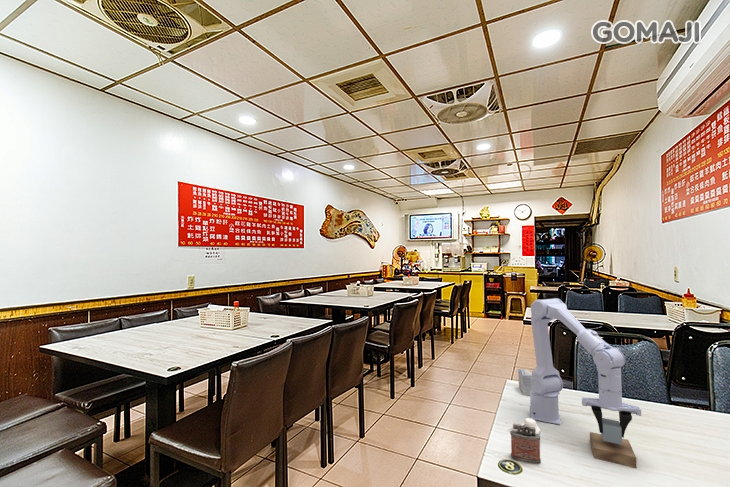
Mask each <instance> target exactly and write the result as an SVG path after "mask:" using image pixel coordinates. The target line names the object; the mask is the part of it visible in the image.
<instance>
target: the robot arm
mask: <svg viewBox="0 0 730 487" xmlns="http://www.w3.org/2000/svg"><path fill="white" fill-rule="evenodd" d="M567 307H568V306H567V304H566V303H564V302H563V301H562V299H560V298H558V297H557V298H556V297H553V298H547V299H535V300H534V301H532V303H531V304H530V313H531V316H530V323H531V331H532V337H533V339H532V341H533V347H534V354H535V361H536V367H534V369H533V370H532V371H531V374H532V379H531V386H532V388H533V390H534V391H530V395H529V396H530V397H529V399H530V400H529V401H530V402H529V404H530V405H529V412H530V418H531V419H533V420H535V421H541V422H545V423H550V424H555V425H561V416H560V413H559V412H560V411H559V395H560V392H561V391H562V390H563V387H564V382H563V379H562V377H561V376H560V371H559V370H557V368H555V367H554V363H553V354H552V347H551V340H550V332H549V325H548V324H549V323H550V322H551V321H552V320H553V319H554V320H559V322H561V323H562V324H563V325H564V326H565V327H567V328H568V329H569V330H570V331H571V332H573V334H575V335H576V336H577V338H576V340H577V342H578V343H579V344H580V345H581V346H582V347H583V348H584V349H585V350H586V351H587V352H588V353H589V354H590V355H591V356H592V360H593V362H594V364H595V366H596V371H597V374H598V375H597V376H598V380H597V381H598V398H597V397H596V398H594V397H593V398H591V397H581V405H582V407H590V409H591V411H592V413H593V415H594V417H595V419H596V422H597V425H598V431H599V434H601V433H603V427H602V418H603V411H602V409H604V410H608V411H613V412H618V415H619V420H618V421H619V423H620V425H621V428H622V439H625V433H626V430H627V428H628V425H629V424H630V423H631V421H633V416H632V414H633V415H636V416H640V417H642V408H641V407H640V406H636V405H632V404H629V403H625V402H623V395H622V388H623V387H622V367H623V366H625V364H626V356H625V355H624V353H623V352H622V351H621V349H620V348H617V347H615V346H611V345H610V344H609V343H608V342H606V341H605V340H604V339H602V338H601V337H600V335H599V333H598V332H597V331H595V330H593V329H590V328H586V327H584V326H583V324H582V323H581V322H580V321H579V320H578V319H577V318H576V317H575V316H574V315H573V314H572V313H571V311H570V310H568V308H567Z"/></svg>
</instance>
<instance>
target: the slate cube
mask: <svg viewBox="0 0 730 487" xmlns="http://www.w3.org/2000/svg"><path fill="white" fill-rule="evenodd" d="M602 427H603V433H600V434H601V435H602V438H603V441H607V442H611V443H616V444H621V445H622V439H623V437H622V428H621V425H620V420H616V419H611V418H605V417H602Z"/></svg>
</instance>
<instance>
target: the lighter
mask: <svg viewBox="0 0 730 487" xmlns="http://www.w3.org/2000/svg"><path fill="white" fill-rule="evenodd" d="M521 430H522V431H521ZM509 432H510V433H509V434H510V447H511V450H510V452H511V453H510V458H511V459H512V460H514V461H517V462H521V463H525V464H532V465H540V464H541V462H542V460H541V446H540V445H541V442H540V441H541V434H540V435H539V434H536V433H535V432H536V428H535V427H530V426H528V425H527V424H524V425H521V423H520V424H518V423H513V424H512V429H511V430H510V431H509Z"/></svg>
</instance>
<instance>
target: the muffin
mask: <svg viewBox="0 0 730 487" xmlns="http://www.w3.org/2000/svg"><path fill="white" fill-rule="evenodd" d="M536 421H537V420H534V419H531V417H530V418H529V417H528V418H525V419H524V420H523V422H522V423H520V425H524V424H527V425H528V426H530V427H535V428H536V432H535V433H536V434H539V435H540V436H541V434H542V430H541V427H540V426H538V424H537V422H536ZM520 431H522V430H520Z"/></svg>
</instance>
